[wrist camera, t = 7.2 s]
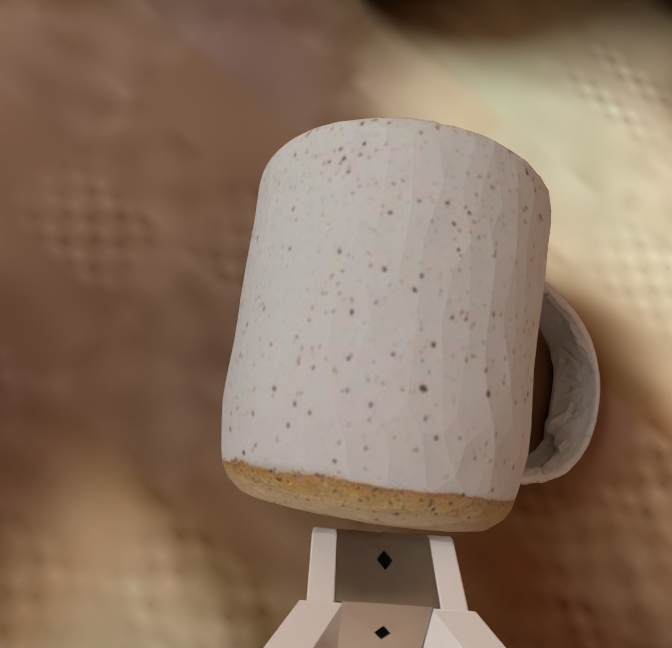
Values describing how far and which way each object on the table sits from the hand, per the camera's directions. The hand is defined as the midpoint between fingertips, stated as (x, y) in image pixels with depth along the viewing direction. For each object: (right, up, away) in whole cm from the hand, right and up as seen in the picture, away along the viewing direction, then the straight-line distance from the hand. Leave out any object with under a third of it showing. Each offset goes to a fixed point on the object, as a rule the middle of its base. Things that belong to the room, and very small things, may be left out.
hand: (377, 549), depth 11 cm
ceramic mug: (+2, +3, +6) cm, 7 cm away
